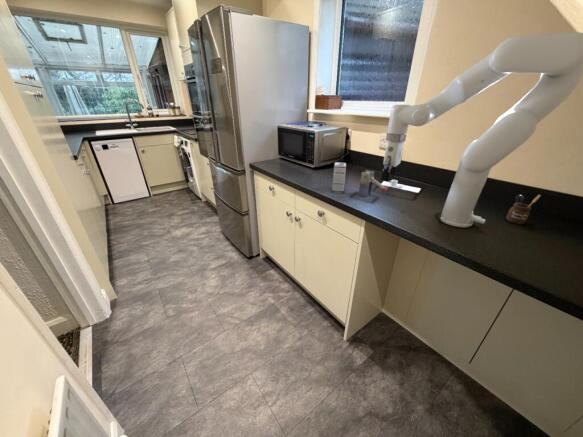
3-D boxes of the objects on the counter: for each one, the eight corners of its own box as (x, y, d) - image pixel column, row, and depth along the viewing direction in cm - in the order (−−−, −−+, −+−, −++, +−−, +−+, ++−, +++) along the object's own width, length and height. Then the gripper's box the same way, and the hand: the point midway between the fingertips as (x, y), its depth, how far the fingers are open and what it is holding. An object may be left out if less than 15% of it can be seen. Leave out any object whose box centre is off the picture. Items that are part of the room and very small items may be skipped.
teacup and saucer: (404, 187, 127) (405, 180, 125) (400, 191, 121) (402, 184, 119) (387, 184, 132) (389, 177, 130) (383, 188, 126) (385, 181, 124)
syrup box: (343, 193, 118) (346, 165, 112) (331, 192, 119) (334, 164, 113) (343, 189, 123) (346, 162, 117) (332, 188, 124) (334, 161, 118)
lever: (386, 190, 109) (389, 186, 108) (383, 193, 106) (386, 189, 104) (365, 174, 112) (368, 170, 111) (361, 177, 109) (364, 173, 107)
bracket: (378, 197, 115) (383, 172, 109) (371, 203, 109) (376, 176, 103) (357, 192, 121) (361, 167, 115) (349, 197, 114) (353, 172, 108)
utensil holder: (503, 216, 98) (516, 189, 92) (522, 219, 96) (537, 192, 90) (507, 222, 93) (521, 194, 88) (527, 225, 91) (543, 197, 85)
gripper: (399, 141, 88) (391, 184, 96) (410, 135, 100) (402, 174, 108) (379, 139, 92) (373, 181, 100) (392, 134, 104) (386, 171, 112)
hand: (388, 177), depth 104 cm, fingers open, 9 cm apart
